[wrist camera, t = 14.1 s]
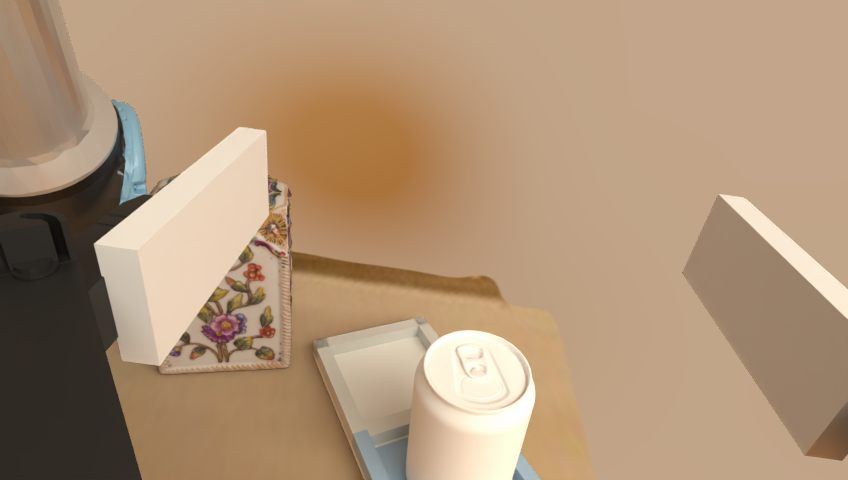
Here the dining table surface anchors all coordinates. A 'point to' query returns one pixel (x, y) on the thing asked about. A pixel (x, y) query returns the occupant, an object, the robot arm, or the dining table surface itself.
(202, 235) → the robot arm
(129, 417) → the dining table surface
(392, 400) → the divided tray
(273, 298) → the decorative jar
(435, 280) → the dining table surface
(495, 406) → the beverage can
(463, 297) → the dining table surface
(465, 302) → the dining table surface
